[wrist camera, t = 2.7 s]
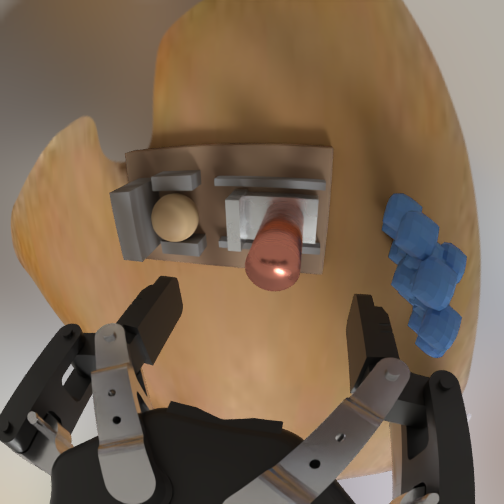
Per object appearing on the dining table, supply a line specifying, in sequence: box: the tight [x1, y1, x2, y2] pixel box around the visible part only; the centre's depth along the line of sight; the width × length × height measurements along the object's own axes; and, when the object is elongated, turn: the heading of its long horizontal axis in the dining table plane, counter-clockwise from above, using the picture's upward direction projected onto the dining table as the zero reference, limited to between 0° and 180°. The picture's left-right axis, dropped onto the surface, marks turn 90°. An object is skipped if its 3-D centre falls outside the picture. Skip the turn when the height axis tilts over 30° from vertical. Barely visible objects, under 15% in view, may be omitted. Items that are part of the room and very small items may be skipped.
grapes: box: [382, 193, 467, 358], centre depth 17 cm, size 12×7×12 cm, turn 27°
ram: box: [225, 189, 319, 291], centre depth 18 cm, size 6×4×8 cm, turn 91°
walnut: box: [151, 193, 199, 242], centre depth 22 cm, size 4×4×4 cm
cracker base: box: [110, 143, 333, 274], centre depth 22 cm, size 18×11×6 cm, turn 91°
